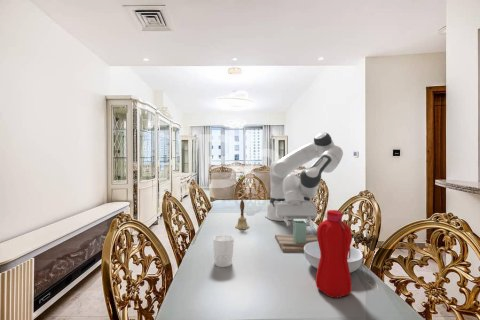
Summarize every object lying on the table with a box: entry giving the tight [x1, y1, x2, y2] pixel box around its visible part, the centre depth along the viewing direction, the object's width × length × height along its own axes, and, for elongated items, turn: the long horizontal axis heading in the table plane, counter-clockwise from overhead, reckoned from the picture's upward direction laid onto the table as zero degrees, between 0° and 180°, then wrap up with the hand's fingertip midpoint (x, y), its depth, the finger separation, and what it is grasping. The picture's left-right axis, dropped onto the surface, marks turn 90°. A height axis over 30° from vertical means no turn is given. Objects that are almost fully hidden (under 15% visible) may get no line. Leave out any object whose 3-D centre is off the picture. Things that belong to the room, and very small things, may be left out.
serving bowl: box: [303, 241, 364, 274], centre depth 98 cm, size 21×21×7 cm
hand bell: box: [235, 199, 250, 230], centre depth 153 cm, size 8×8×16 cm
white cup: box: [212, 234, 235, 268], centre depth 101 cm, size 8×8×10 cm
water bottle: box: [315, 209, 353, 298], centre depth 80 cm, size 9×11×25 cm
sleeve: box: [292, 220, 307, 243], centre depth 124 cm, size 5×5×9 cm
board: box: [274, 234, 318, 253], centre depth 124 cm, size 20×20×2 cm
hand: (298, 225), depth 125 cm, fingers open, 8 cm apart
